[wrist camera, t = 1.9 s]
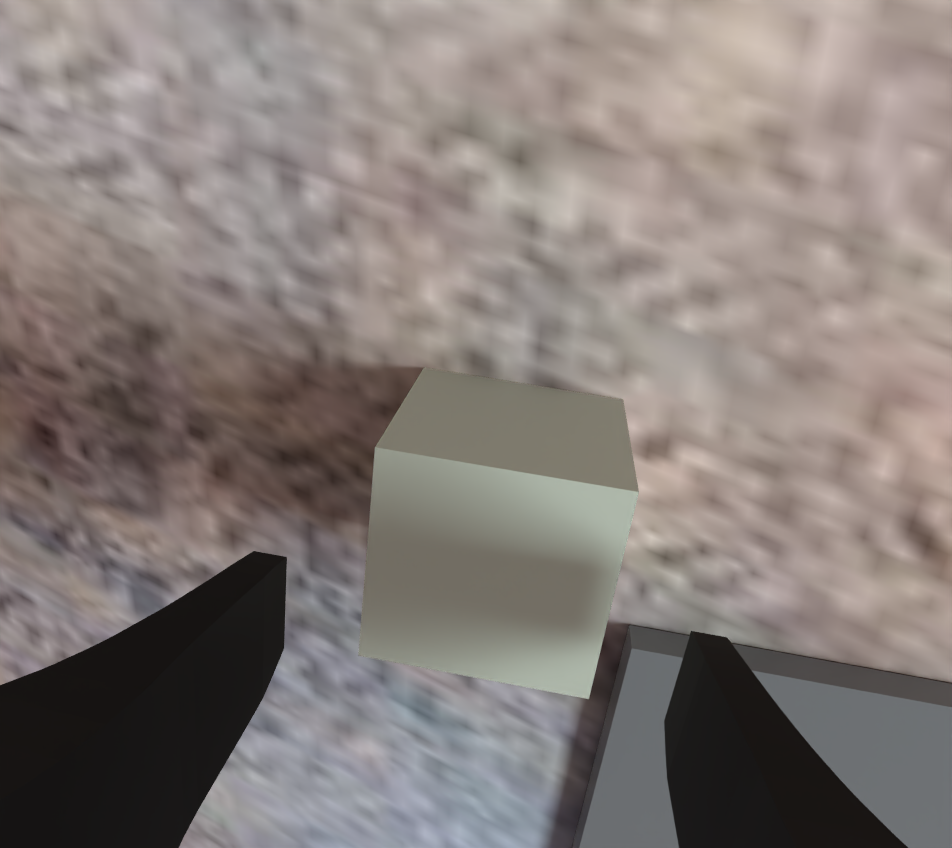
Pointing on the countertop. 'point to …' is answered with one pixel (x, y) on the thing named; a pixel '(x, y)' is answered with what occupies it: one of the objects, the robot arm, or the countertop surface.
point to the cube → (497, 531)
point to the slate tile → (811, 712)
